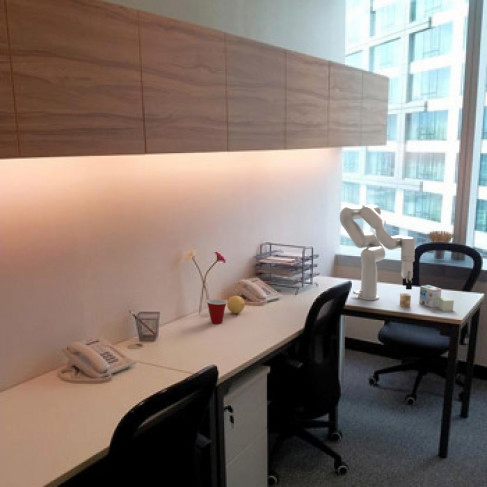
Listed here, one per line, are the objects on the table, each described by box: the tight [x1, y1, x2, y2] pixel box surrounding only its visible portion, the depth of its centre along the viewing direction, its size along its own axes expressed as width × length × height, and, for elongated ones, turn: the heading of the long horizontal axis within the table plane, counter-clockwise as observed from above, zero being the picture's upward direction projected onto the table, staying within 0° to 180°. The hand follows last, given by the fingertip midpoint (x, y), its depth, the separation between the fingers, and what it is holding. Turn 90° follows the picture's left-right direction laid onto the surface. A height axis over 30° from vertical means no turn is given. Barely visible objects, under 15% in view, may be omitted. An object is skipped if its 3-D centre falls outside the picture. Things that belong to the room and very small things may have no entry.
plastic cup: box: [206, 298, 228, 325], centre depth 274 cm, size 11×11×12 cm
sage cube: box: [437, 297, 455, 312], centre depth 297 cm, size 6×6×6 cm
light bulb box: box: [418, 284, 442, 308], centre depth 305 cm, size 11×7×11 cm, turn 25°
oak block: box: [399, 292, 412, 308], centre depth 303 cm, size 5×5×7 cm
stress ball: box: [226, 295, 246, 315], centre depth 290 cm, size 10×10×10 cm
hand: (407, 287), depth 301 cm, fingers open, 9 cm apart
